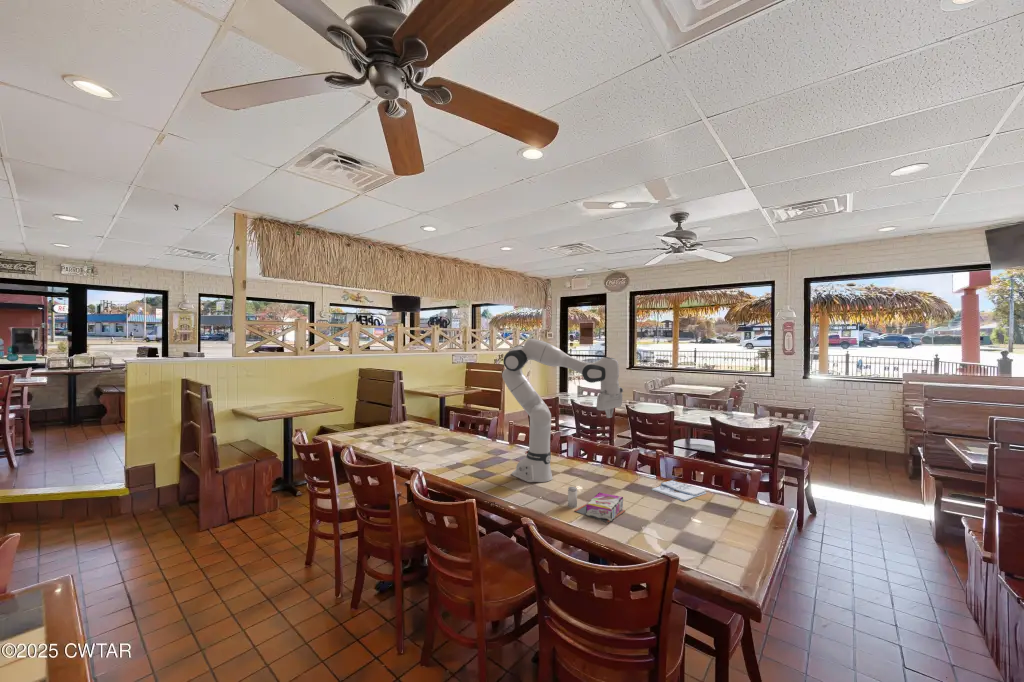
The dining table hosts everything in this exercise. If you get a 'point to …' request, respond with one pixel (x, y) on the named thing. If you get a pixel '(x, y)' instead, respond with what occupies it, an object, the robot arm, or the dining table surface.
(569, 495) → the salt shaker
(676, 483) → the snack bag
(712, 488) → the dining table surface
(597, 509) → the candy bar box
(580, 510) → the bar mat
